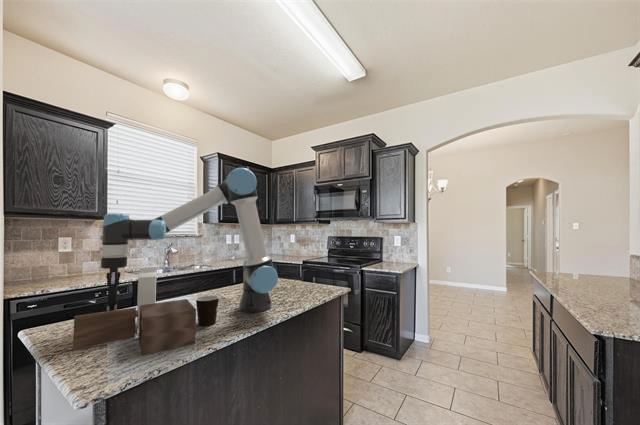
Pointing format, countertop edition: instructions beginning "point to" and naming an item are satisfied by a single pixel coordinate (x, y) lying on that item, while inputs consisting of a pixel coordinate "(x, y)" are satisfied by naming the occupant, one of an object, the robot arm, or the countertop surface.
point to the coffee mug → (207, 310)
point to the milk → (146, 288)
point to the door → (104, 327)
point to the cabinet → (166, 326)
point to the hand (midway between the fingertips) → (111, 323)
